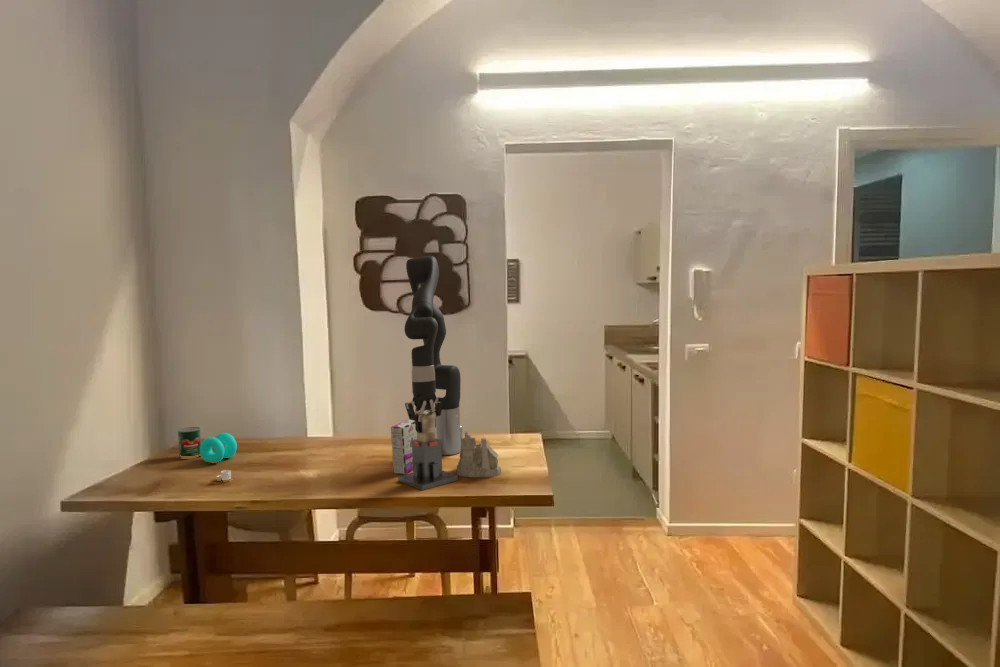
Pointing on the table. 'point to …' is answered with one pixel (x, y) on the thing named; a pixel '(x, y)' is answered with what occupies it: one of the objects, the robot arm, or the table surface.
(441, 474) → the stand
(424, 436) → the post
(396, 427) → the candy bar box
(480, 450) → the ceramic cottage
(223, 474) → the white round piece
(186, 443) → the canned tomato
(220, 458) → the donuts
